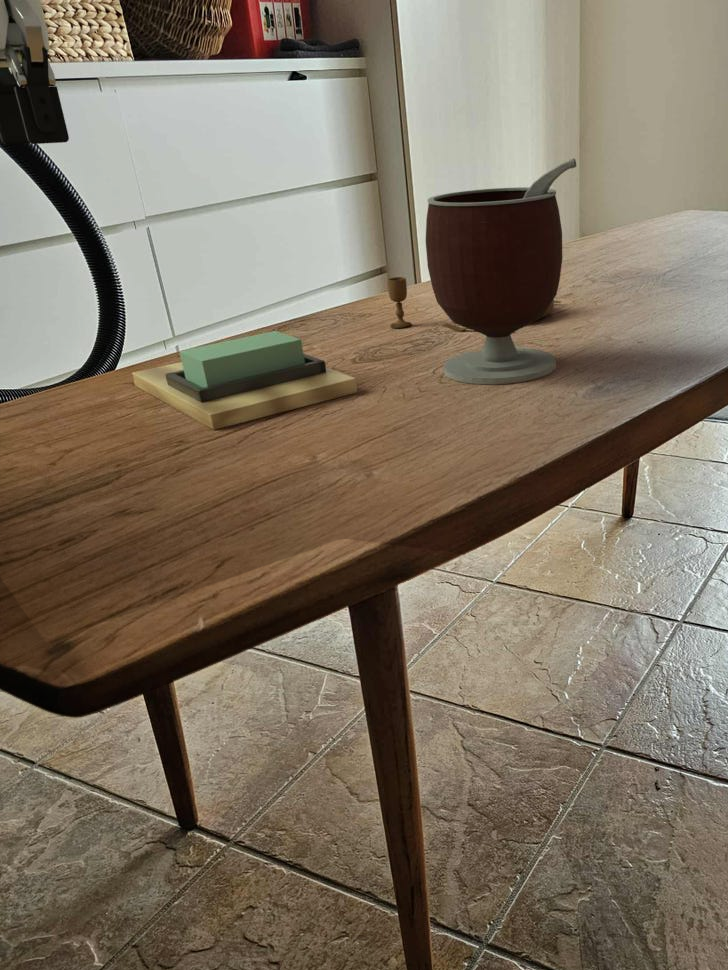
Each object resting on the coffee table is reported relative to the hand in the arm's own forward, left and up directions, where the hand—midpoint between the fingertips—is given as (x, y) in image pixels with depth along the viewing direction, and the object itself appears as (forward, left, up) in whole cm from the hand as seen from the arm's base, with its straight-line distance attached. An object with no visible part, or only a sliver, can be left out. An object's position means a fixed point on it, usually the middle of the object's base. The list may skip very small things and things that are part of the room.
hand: (34, 143), depth 78 cm
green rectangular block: (+14, -3, -23) cm, 27 cm away
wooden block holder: (+14, -1, -25) cm, 28 cm away
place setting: (+52, +6, -25) cm, 58 cm away
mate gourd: (+38, -17, -25) cm, 48 cm away
